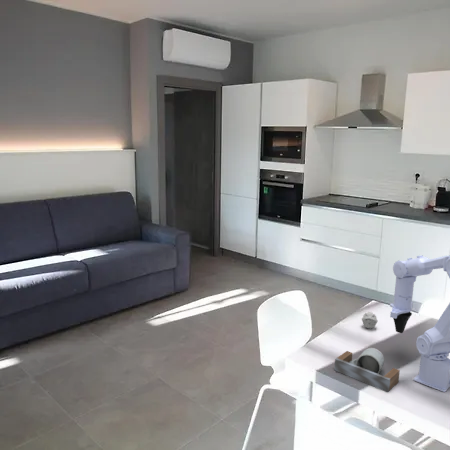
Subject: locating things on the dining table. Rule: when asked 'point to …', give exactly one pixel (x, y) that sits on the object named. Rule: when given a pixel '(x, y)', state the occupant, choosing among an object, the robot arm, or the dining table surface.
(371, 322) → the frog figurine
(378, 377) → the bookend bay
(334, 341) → the dining table surface
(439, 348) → the robot arm
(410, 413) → the dining table surface
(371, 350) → the ceramic mug
